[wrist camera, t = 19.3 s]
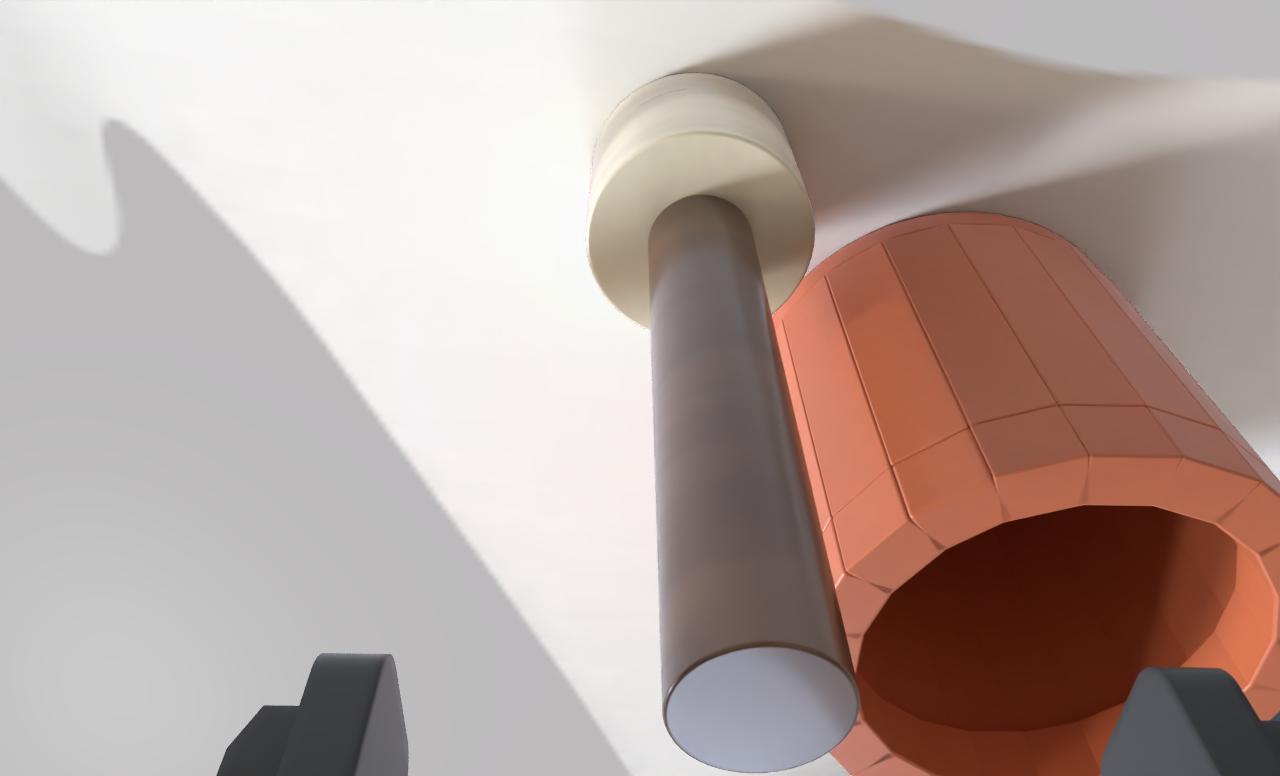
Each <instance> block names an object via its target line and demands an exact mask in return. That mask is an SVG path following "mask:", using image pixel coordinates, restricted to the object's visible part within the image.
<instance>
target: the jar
mask: <svg viewBox="0 0 1280 776" xmlns="http://www.w3.org/2000/svg"><path fill="white" fill-rule="evenodd" d="M773 323H774V327H775V331H776V336H777V340H778V344H779V348H780V353H781V357H782V361H783V366H784V370H785V374H786V379H787V383H788V387H789V391H790V396H791V400H792V404H793V409H794V413H795V417H796V422H797V426H798V430H799V434H800V439H801V443H802V447H803V452H804V456H805V460H806V465H807V469H808V473H809V477H810V482H811V486H812V490H813V495H814V499H815V503H816V507H817V512H818V516H819V520H820V525H821V529H822V533H823V538H824V542H825V546H826V550H827V555H828V559H829V563H830V568H831V572H832V576H833V581H834V585H835V589H836V593H837V598H838V602H839V606H840V611H841V615H842V619H843V624H844V628H845V632H846V636H847V641H848V645H849V649H850V654H851V658H852V662H853V667H854V671H855V675H856V679H857V684H858V688H859V692H860V709H859V713H858V717H857V720H856V722H855V724H854V726H853V728H852V730H851V731H850V732H849V734H848V735H847V737H846V738H845V739H844V740H843V741H842V742H841V743H840V744H839V745H837V746H836V747H835V748H834V749H832V750H831V751H830V753H831V754H832V755H833V757H834V758H835V759H836V760H837V761H838V762H839V763H840V764H841V765H842V766H843V767H844V768H845V769H846V771H847V772H848V773H849V774H851V775H853V776H1101V761H1102V756H1103V753H1104V750H1105V748H1106V745H1107V743H1108V741H1109V739H1110V737H1111V734H1112V732H1113V730H1114V728H1115V725H1116V723H1117V721H1118V719H1119V716H1120V714H1121V712H1122V710H1123V707H1124V705H1125V703H1126V701H1127V699H1128V696H1129V694H1130V692H1131V690H1132V687H1133V685H1134V683H1135V681H1136V678H1137V677H1138V675H1139V673H1140V672H1141V671H1142V670H1143V669H1145V668H1147V667H1202V668H1220V669H1223V670H1225V671H1226V672H1228V673H1229V674H1230V675H1231V676H1232V677H1233V678H1234V679H1235V680H1236V682H1237V683H1238V685H1239V686H1240V688H1241V689H1242V691H1243V693H1244V694H1245V696H1246V697H1247V699H1248V701H1249V702H1250V704H1251V706H1252V707H1253V709H1254V711H1255V712H1256V714H1257V715H1258V717H1259V719H1260V720H1262V721H1270V720H1271V719H1272V718H1273V717H1274V716H1275V715H1276V714H1277V713H1278V712H1279V711H1280V481H1279V480H1278V478H1277V477H1276V476H1275V475H1274V474H1273V473H1272V471H1271V470H1270V469H1269V468H1268V466H1267V465H1266V464H1265V463H1264V462H1263V460H1262V459H1261V458H1260V457H1259V456H1258V455H1257V453H1256V452H1255V451H1254V450H1253V449H1252V447H1251V446H1250V445H1249V444H1248V443H1247V441H1246V440H1245V439H1244V438H1243V437H1242V436H1241V434H1240V433H1239V432H1238V431H1237V430H1236V428H1235V427H1234V426H1233V425H1232V424H1231V422H1230V421H1229V420H1228V419H1227V418H1226V417H1225V415H1224V414H1223V413H1222V412H1221V411H1220V409H1219V408H1218V407H1217V406H1216V405H1215V403H1214V402H1213V401H1212V400H1211V399H1210V398H1209V396H1208V395H1207V394H1206V393H1205V392H1204V390H1203V389H1202V388H1201V387H1200V386H1199V384H1198V383H1197V382H1196V381H1195V380H1194V379H1193V377H1192V376H1191V375H1190V374H1189V373H1188V371H1187V370H1186V369H1185V368H1184V367H1183V365H1182V364H1181V363H1180V362H1179V361H1178V360H1177V358H1176V357H1175V356H1174V355H1173V354H1172V352H1171V351H1170V350H1169V349H1168V348H1167V346H1166V345H1165V344H1164V343H1163V342H1162V341H1161V339H1160V338H1159V337H1158V336H1157V335H1156V333H1155V332H1154V331H1153V330H1152V329H1151V327H1150V326H1149V325H1148V324H1147V323H1146V322H1145V320H1144V319H1143V318H1142V317H1141V316H1140V314H1139V313H1138V312H1137V311H1136V310H1135V308H1134V307H1133V306H1132V305H1131V304H1130V303H1129V301H1128V300H1127V299H1126V298H1125V297H1124V295H1123V294H1122V293H1121V292H1120V291H1119V289H1118V288H1117V287H1116V286H1115V285H1114V284H1113V282H1112V281H1111V280H1110V279H1109V278H1108V277H1107V276H1105V275H1104V274H1103V273H1102V272H1101V271H1100V270H1099V269H1098V268H1097V267H1096V266H1095V265H1094V264H1093V263H1092V262H1091V261H1090V260H1089V258H1088V257H1087V256H1086V255H1085V254H1084V253H1083V252H1082V251H1080V250H1079V249H1078V248H1076V247H1075V246H1074V245H1073V244H1071V243H1070V242H1069V241H1067V240H1066V239H1065V238H1063V237H1061V236H1059V235H1057V234H1055V233H1054V232H1052V231H1050V230H1048V229H1046V228H1044V227H1041V226H1039V225H1036V224H1033V223H1031V222H1028V221H1025V220H1022V219H1018V218H1013V217H1009V216H1004V215H999V214H990V213H978V212H955V213H941V214H934V215H928V216H922V217H916V218H913V219H909V220H906V221H902V222H899V223H895V224H891V225H889V226H886V227H884V228H882V229H879V230H877V231H874V232H872V233H869V234H867V235H865V236H863V237H861V238H859V239H857V240H856V241H854V242H852V243H850V244H848V245H846V246H845V247H843V248H841V249H840V250H838V251H837V252H836V253H834V254H833V255H831V256H830V257H828V258H827V259H826V260H824V261H823V262H821V263H820V264H819V265H818V266H817V267H816V268H815V269H813V270H812V271H811V272H810V273H809V274H808V275H807V276H806V277H804V278H803V279H802V281H801V283H800V284H799V286H798V287H797V289H796V290H795V291H794V293H793V294H792V296H791V297H790V298H789V299H788V300H787V301H786V302H785V303H784V305H783V306H781V307H780V308H779V309H778V311H777V312H776V313H775V315H774V316H773Z"/></svg>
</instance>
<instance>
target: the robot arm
mask: <svg viewBox="0 0 1280 776" xmlns="http://www.w3.org/2000/svg"><path fill="white" fill-rule="evenodd" d="M217 776H408V741H407V734H406V728H405V722H404V716H403V709H402V703H401V697H400V691H399V684H398V678H397V672H396V666H395V661H394V658H393V656H392V655H391V654H338V653H337V654H334V653H322V654H320V655H319V656H318V657H317V658H316V660H315V662H314V664H313V667H312V669H311V672H310V675H309V678H308V681H307V684H306V687H305V690H304V693H303V697H302V699H301V703H300V705H299V706H263V707H262V708H261V709H260V710H259V712H258V713H257V714H256V715H255V716H254V718H253V719H252V720H251V721H250V722H249V723H248V724H247V726H246V727H245V728H244V729H243V730H242V731H241V733H240V734H239V735H238V736H237V737H236V738H235V739H234V741H233V742H232V743H231V744H230V745H229V746H228V748H227V750H226V752H225V755H224V757H223V760H222V763H221V765H220V768H219V771H218V773H217ZM1101 776H1280V721H1262V720H1260V719H1259V717H1258V715H1257V714H1256V712H1255V711H1254V709H1253V707H1252V706H1251V704H1250V702H1249V701H1248V699H1247V697H1246V696H1245V694H1244V693H1243V691H1242V689H1241V688H1240V686H1239V685H1238V683H1237V682H1236V680H1235V679H1234V678H1233V677H1232V676H1231V675H1230V674H1229V673H1228V672H1226V671H1225V670H1223V669H1220V668H1202V667H1147V668H1145V669H1143V670H1142V671H1141V672H1140V673H1139V675H1138V677H1137V678H1136V681H1135V683H1134V685H1133V687H1132V690H1131V692H1130V694H1129V696H1128V699H1127V701H1126V703H1125V705H1124V707H1123V710H1122V712H1121V714H1120V716H1119V719H1118V721H1117V723H1116V725H1115V728H1114V730H1113V732H1112V734H1111V737H1110V739H1109V741H1108V743H1107V745H1106V748H1105V750H1104V753H1103V756H1102V761H1101Z"/></svg>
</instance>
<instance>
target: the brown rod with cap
mask: <svg viewBox="0 0 1280 776" xmlns="http://www.w3.org/2000/svg"><path fill="white" fill-rule="evenodd" d="M814 239H815V223H814V214H813V210H812V206H811V202H810V199H809V197H808V194H807V191H806V188H805V186H804V183H803V180H802V177H801V175H800V172H799V169H798V166H797V164H796V161H795V158H794V155H793V153H792V150H791V147H790V145H789V142H788V139H787V136H786V134H785V131H784V129H783V126H782V124H781V123H780V121H779V119H778V117H777V116H776V114H775V113H774V112H773V110H772V109H771V108H770V106H769V105H768V104H767V103H766V102H765V101H764V100H763V99H762V98H761V97H760V96H758V95H757V94H756V93H754V92H753V91H752V90H750V89H749V88H747V87H745V86H744V85H742V84H740V83H738V82H736V81H733V80H731V79H728V78H725V77H722V76H717V75H713V74H705V73H682V74H676V75H671V76H667V77H664V78H660V79H657V80H655V81H653V82H650V83H648V84H646V85H644V86H642V87H641V88H639V89H638V90H636V91H634V92H633V93H632V94H630V95H629V96H628V97H627V98H625V99H624V100H623V101H622V102H621V103H620V104H619V105H618V106H617V107H616V108H615V110H614V111H613V112H612V113H611V115H610V116H609V117H608V119H607V120H606V122H605V124H604V125H603V127H602V129H601V131H600V133H599V136H598V139H597V141H596V144H595V148H594V153H593V157H592V168H591V179H590V191H589V202H588V214H587V226H586V251H587V257H588V261H589V266H590V268H591V271H592V274H593V276H594V279H595V281H596V282H597V284H598V286H599V288H600V290H601V291H602V293H603V294H604V295H605V297H606V298H607V299H608V301H609V302H610V303H611V304H612V305H613V306H614V307H615V308H616V309H617V310H618V311H619V312H620V313H622V314H623V315H624V316H625V317H627V318H628V319H629V320H631V321H632V322H634V323H636V324H637V325H639V326H641V327H643V328H645V329H647V330H649V331H651V361H652V392H653V424H654V456H655V488H656V520H657V552H658V583H659V615H660V647H661V679H662V710H663V720H664V724H665V726H666V729H667V731H668V733H669V735H670V736H671V738H672V739H673V741H674V742H675V743H676V744H677V745H678V746H679V747H680V748H681V749H682V750H683V751H684V752H686V753H687V754H688V755H690V756H691V757H693V758H695V759H696V760H698V761H700V762H702V763H705V764H707V765H710V766H713V767H716V768H719V769H723V770H728V771H734V772H742V773H767V772H775V771H781V770H786V769H791V768H794V767H798V766H801V765H804V764H806V763H809V762H812V761H814V760H816V759H818V758H820V757H822V756H823V755H825V754H826V753H828V752H830V751H831V750H832V749H834V748H835V747H836V746H837V745H839V744H840V743H841V742H842V741H843V740H844V739H845V738H846V737H847V735H848V734H849V732H850V731H851V730H852V728H853V726H854V724H855V722H856V720H857V717H858V713H859V709H860V692H859V688H858V684H857V679H856V675H855V671H854V667H853V662H852V658H851V654H850V649H849V645H848V641H847V636H846V632H845V628H844V624H843V619H842V615H841V611H840V606H839V602H838V598H837V593H836V589H835V585H834V581H833V576H832V572H831V568H830V563H829V559H828V555H827V550H826V546H825V542H824V538H823V533H822V529H821V525H820V520H819V516H818V512H817V507H816V503H815V499H814V495H813V490H812V486H811V482H810V477H809V473H808V469H807V465H806V460H805V456H804V452H803V447H802V443H801V439H800V434H799V430H798V426H797V422H796V417H795V413H794V409H793V404H792V400H791V396H790V391H789V387H788V383H787V379H786V374H785V370H784V366H783V361H782V357H781V353H780V348H779V344H778V340H777V336H776V331H775V327H774V323H773V318H772V314H773V313H775V312H776V311H777V310H778V309H779V308H780V307H781V306H783V305H784V303H785V302H786V301H787V300H788V299H789V298H790V297H791V296H792V294H793V293H794V291H795V290H796V289H797V287H798V286H799V284H800V283H801V281H802V279H803V277H804V275H805V273H806V271H807V269H808V266H809V263H810V260H811V257H812V252H813V247H814Z"/></svg>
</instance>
